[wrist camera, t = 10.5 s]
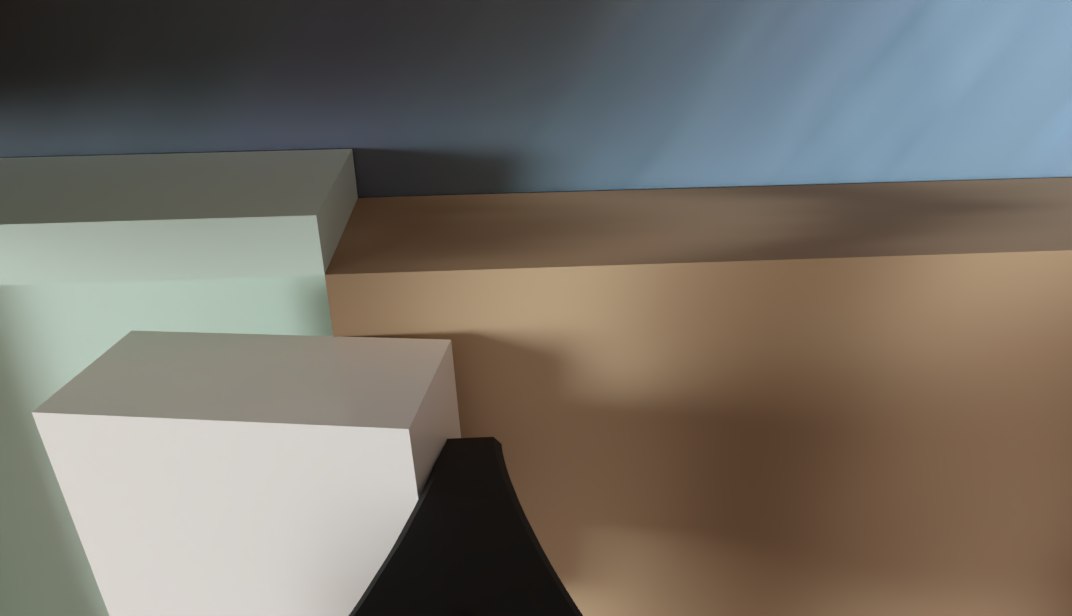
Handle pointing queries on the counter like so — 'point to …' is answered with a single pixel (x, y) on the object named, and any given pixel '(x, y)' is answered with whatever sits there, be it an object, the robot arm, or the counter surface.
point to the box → (139, 302)
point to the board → (756, 385)
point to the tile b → (247, 466)
